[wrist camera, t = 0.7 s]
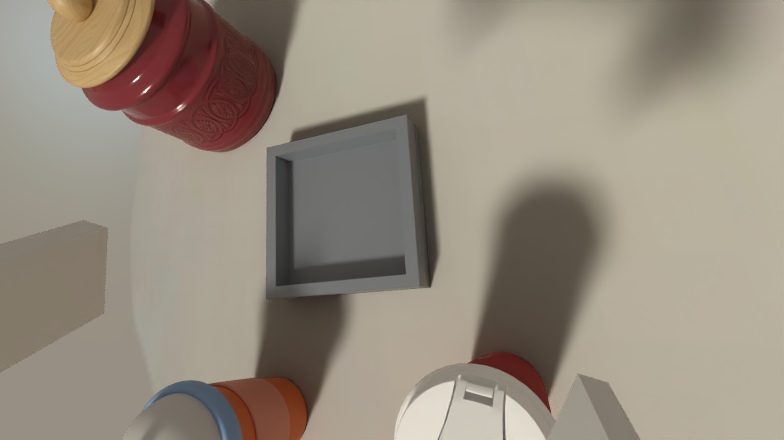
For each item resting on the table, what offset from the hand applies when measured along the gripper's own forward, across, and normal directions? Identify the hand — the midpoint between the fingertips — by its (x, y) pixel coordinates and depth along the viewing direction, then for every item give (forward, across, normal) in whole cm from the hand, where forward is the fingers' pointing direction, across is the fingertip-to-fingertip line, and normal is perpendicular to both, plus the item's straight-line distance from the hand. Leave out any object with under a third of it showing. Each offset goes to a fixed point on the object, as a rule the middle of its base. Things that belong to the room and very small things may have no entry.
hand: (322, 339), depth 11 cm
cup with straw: (+19, -6, -22) cm, 30 cm away
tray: (+25, -5, -4) cm, 26 cm away
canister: (+34, -23, +2) cm, 41 cm away
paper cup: (+17, +11, -12) cm, 23 cm away
